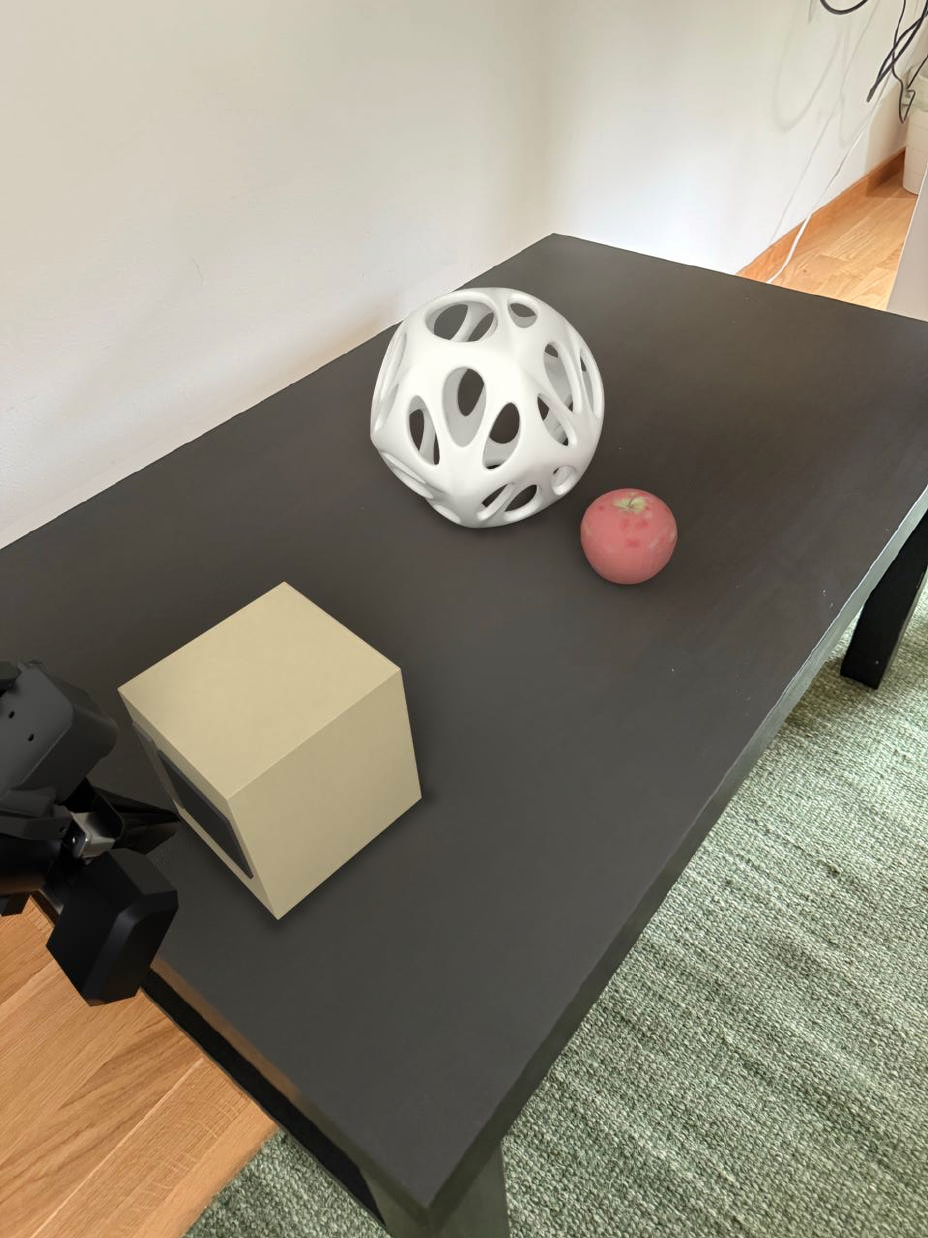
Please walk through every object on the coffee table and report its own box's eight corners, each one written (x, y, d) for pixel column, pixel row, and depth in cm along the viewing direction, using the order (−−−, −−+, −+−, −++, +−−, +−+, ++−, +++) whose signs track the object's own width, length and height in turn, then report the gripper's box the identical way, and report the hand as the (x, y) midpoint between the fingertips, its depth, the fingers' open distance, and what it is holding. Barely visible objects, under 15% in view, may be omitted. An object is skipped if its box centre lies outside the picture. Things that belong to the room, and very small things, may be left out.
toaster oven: (274, 923, 56) (222, 802, 47) (176, 817, 62) (112, 691, 53) (422, 797, 62) (401, 668, 53) (319, 711, 68) (284, 580, 59)
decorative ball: (384, 577, 78) (354, 394, 65) (377, 442, 92) (351, 271, 79) (621, 551, 78) (635, 365, 66) (578, 421, 92) (583, 247, 80)
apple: (628, 531, 80) (634, 454, 74) (689, 577, 75) (701, 498, 70) (560, 567, 77) (562, 490, 71) (619, 616, 73) (626, 538, 67)
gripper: (61, 817, 34) (337, 799, 47) (-124, 588, 44) (146, 625, 57) (-47, 1054, 36) (246, 975, 49) (-202, 784, 46) (77, 777, 59)
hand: (175, 823), depth 54 cm, fingers closed
